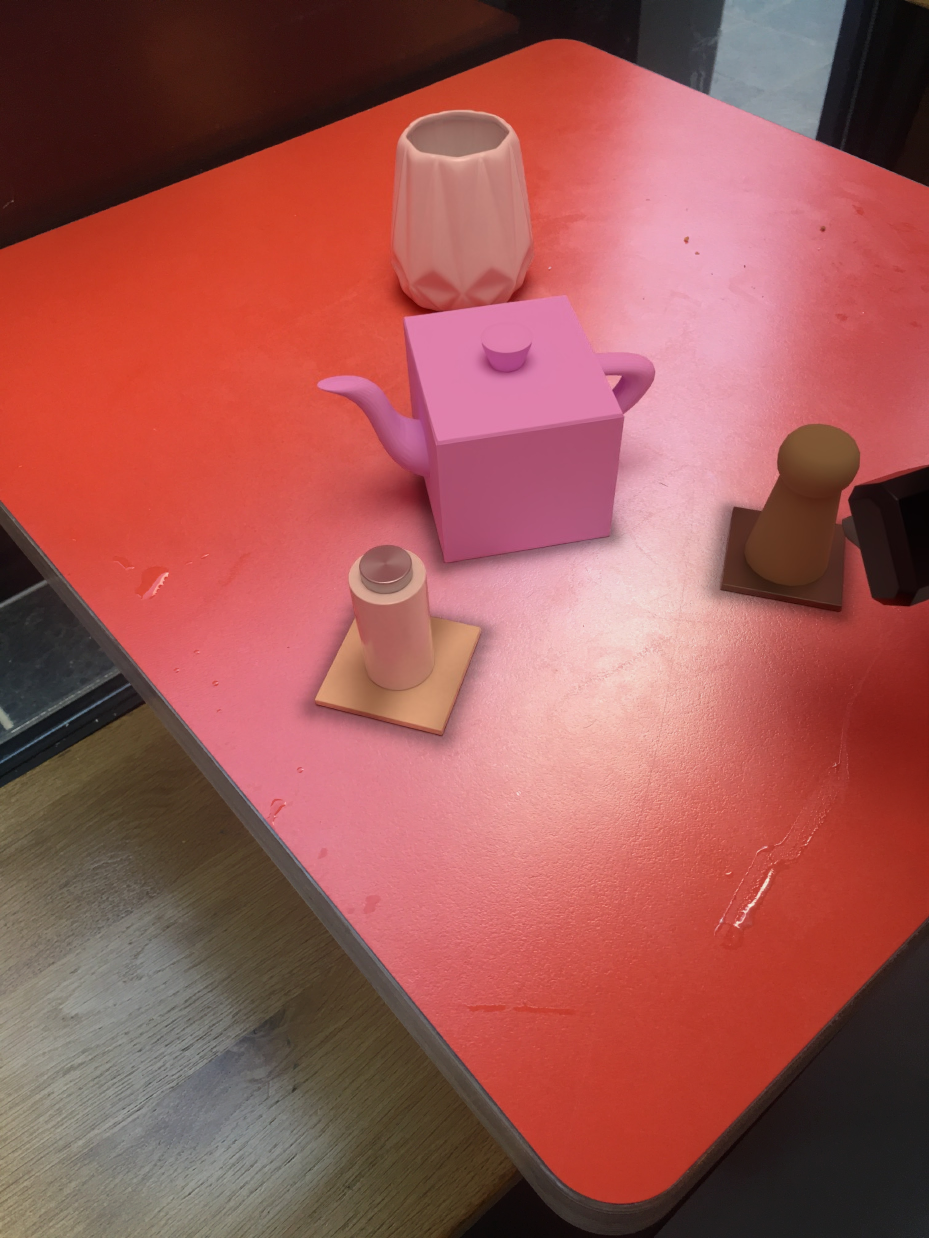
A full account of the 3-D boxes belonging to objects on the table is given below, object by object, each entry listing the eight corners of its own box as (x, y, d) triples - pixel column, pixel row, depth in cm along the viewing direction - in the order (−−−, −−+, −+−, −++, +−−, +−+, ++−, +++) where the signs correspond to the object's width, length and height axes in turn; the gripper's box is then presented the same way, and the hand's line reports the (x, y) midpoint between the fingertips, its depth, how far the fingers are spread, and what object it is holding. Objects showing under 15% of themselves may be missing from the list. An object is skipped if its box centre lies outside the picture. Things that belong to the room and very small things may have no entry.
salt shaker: (448, 652, 64) (440, 553, 56) (409, 701, 62) (395, 604, 54) (391, 625, 66) (376, 525, 58) (351, 672, 63) (329, 573, 56)
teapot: (331, 449, 79) (303, 302, 68) (614, 406, 82) (630, 257, 71) (351, 578, 70) (322, 431, 59) (670, 526, 72) (699, 375, 61)
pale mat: (481, 632, 66) (481, 626, 66) (442, 735, 61) (441, 730, 60) (363, 606, 68) (362, 601, 68) (315, 704, 63) (314, 699, 62)
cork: (843, 552, 69) (890, 436, 60) (801, 599, 66) (844, 483, 58) (771, 515, 72) (807, 398, 63) (728, 558, 69) (759, 442, 60)
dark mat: (843, 530, 71) (846, 524, 71) (840, 611, 66) (842, 606, 66) (732, 511, 73) (733, 506, 72) (720, 589, 68) (721, 584, 67)
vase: (497, 238, 100) (496, 88, 89) (556, 304, 92) (564, 147, 80) (375, 270, 97) (357, 118, 86) (425, 340, 89) (413, 183, 77)
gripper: (1294, 245, 41) (1007, 332, 56) (947, 351, 37) (740, 413, 52) (1337, 490, 42) (1046, 510, 57) (1008, 617, 38) (788, 602, 53)
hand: (910, 505), depth 55 cm, fingers open, 9 cm apart
